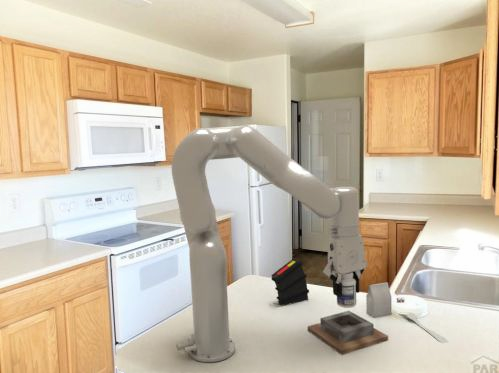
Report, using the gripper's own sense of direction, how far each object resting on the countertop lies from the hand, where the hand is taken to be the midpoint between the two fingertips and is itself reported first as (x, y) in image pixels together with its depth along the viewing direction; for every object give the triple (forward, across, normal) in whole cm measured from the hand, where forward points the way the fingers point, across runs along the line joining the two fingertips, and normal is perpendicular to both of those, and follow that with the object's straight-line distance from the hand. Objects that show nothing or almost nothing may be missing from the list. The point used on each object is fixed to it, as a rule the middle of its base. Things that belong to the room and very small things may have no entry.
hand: (346, 292), depth 113 cm
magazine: (+13, -1, +29) cm, 32 cm away
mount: (+13, 0, 0) cm, 13 cm away
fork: (+13, +22, -7) cm, 27 cm away
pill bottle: (+4, 0, 0) cm, 4 cm away
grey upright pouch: (+13, +18, +6) cm, 23 cm away
